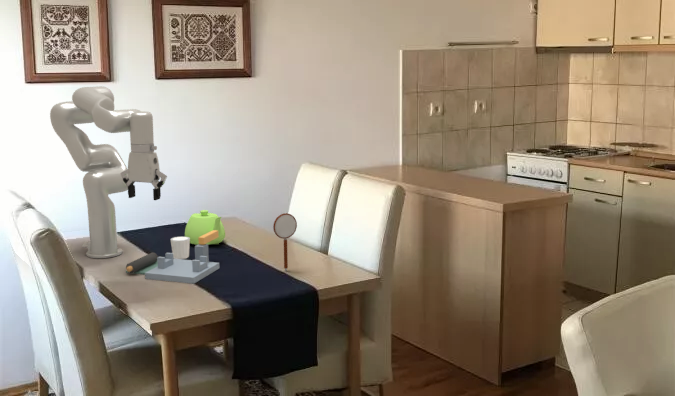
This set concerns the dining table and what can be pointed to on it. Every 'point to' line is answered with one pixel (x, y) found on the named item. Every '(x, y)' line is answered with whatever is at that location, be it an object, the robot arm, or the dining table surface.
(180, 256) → the white cup
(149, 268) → the mat
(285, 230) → the magnifying glass
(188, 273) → the grey cradle stand
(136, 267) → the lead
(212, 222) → the teapot
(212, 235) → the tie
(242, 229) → the dining table surface
